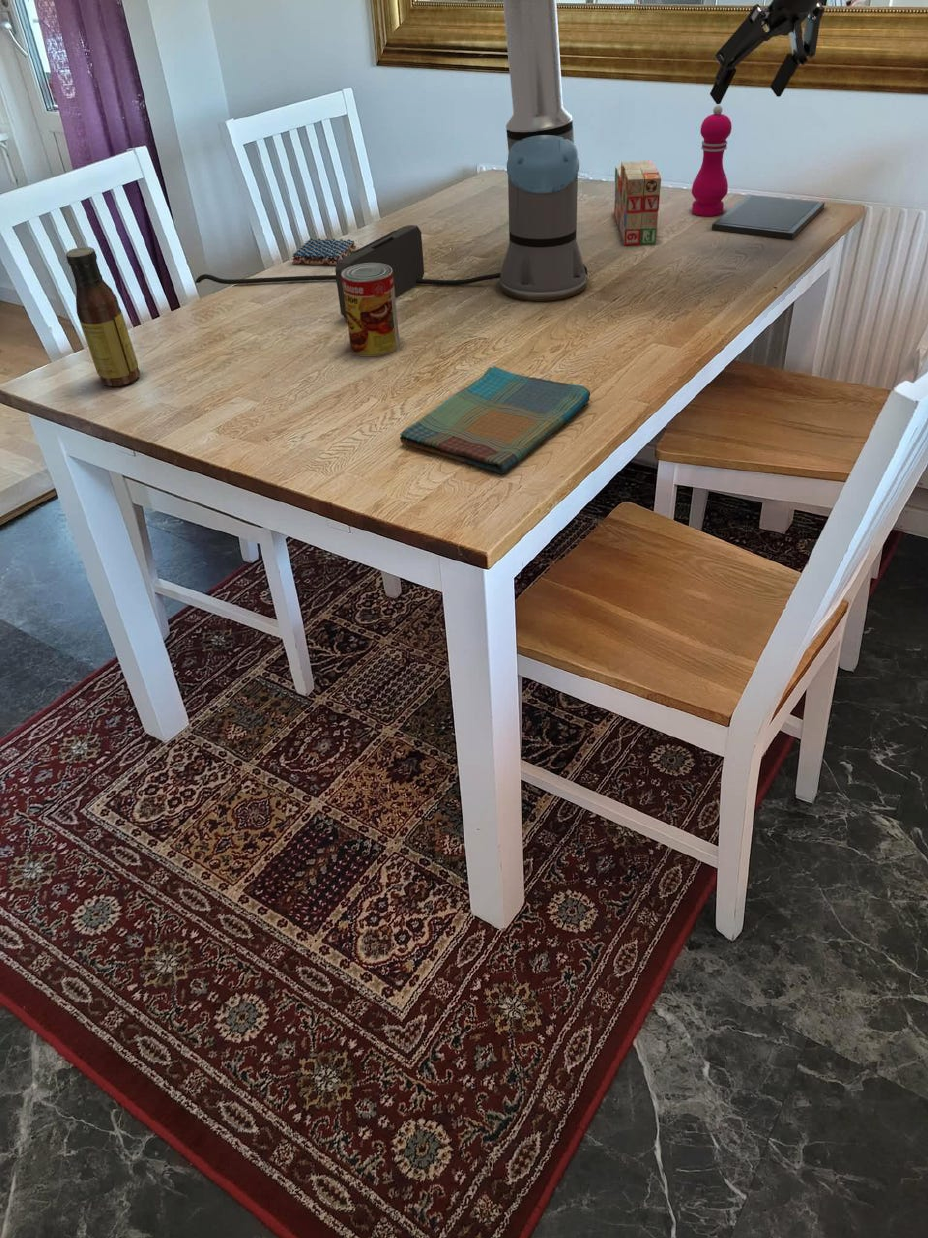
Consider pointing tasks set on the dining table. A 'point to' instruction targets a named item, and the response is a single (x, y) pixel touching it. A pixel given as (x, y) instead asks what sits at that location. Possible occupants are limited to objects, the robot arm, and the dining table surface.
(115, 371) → the sauce bottle
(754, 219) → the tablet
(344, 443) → the dining table surface
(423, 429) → the dish towel
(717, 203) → the pepper mill
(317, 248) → the woven mat
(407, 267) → the handheld gaming console
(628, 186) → the stack of blocks
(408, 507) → the dining table surface
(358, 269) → the canned food
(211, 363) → the dining table surface
